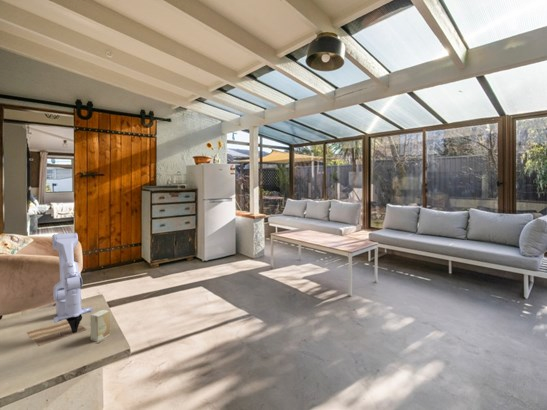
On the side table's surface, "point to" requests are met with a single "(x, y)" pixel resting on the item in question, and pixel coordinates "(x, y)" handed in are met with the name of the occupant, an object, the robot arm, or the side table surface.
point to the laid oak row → (49, 330)
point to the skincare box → (100, 325)
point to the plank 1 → (49, 338)
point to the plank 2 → (69, 331)
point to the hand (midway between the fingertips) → (74, 332)
